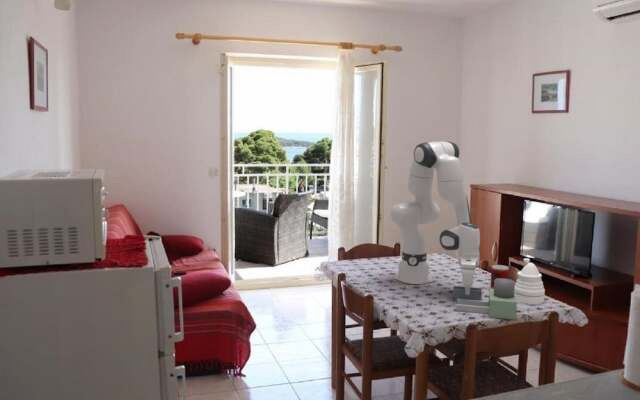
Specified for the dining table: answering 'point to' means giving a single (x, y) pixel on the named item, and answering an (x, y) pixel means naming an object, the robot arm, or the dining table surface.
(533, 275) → the honey pot
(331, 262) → the dining table surface
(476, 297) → the chute
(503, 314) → the green base with cylinder
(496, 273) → the canned food
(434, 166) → the robot arm
